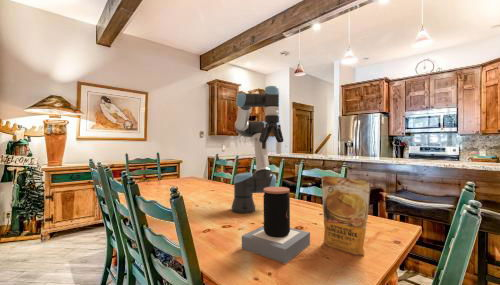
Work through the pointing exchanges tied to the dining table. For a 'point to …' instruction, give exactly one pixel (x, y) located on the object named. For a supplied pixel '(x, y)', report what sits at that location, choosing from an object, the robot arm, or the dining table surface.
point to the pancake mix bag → (345, 213)
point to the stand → (276, 244)
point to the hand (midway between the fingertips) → (272, 154)
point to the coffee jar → (276, 211)
